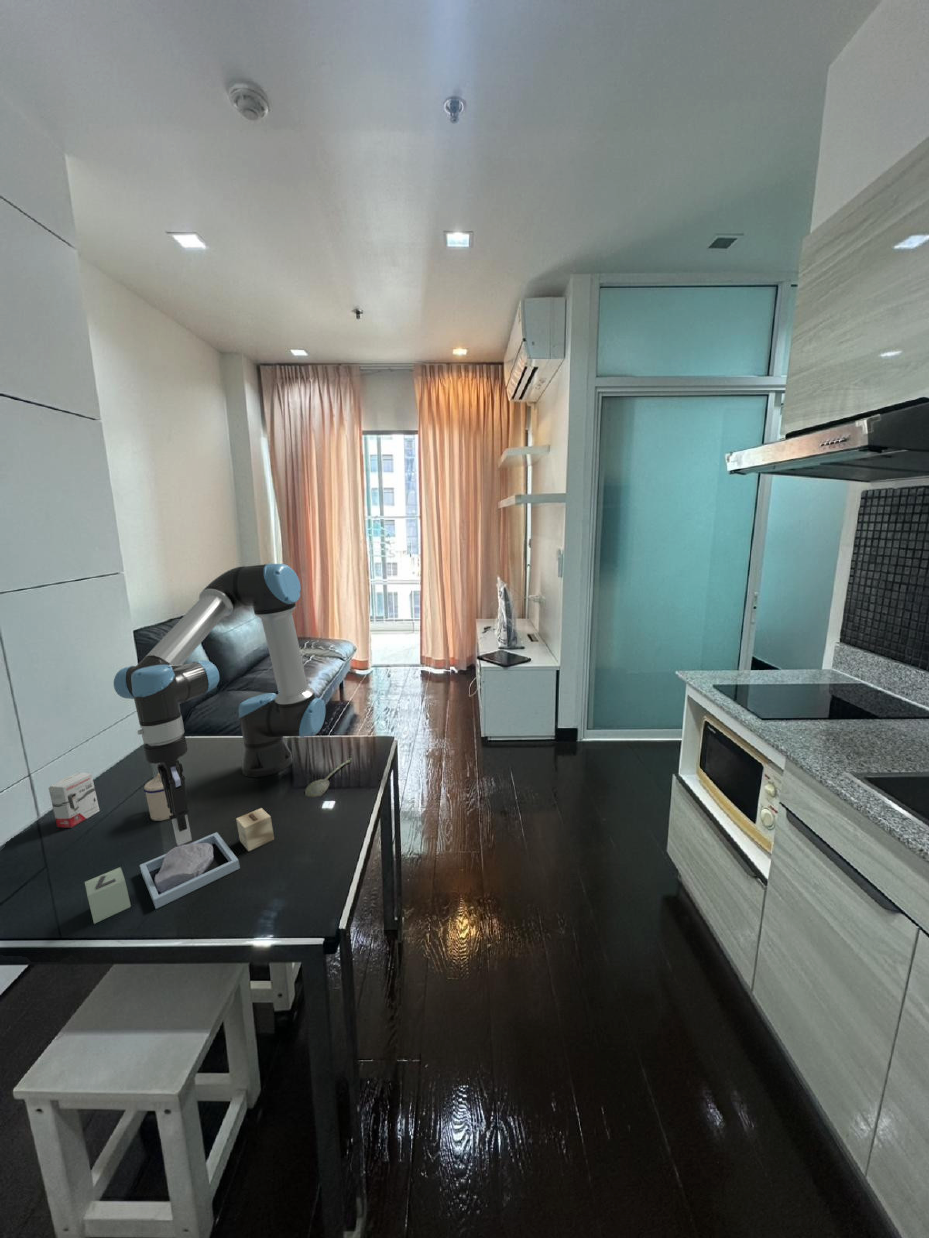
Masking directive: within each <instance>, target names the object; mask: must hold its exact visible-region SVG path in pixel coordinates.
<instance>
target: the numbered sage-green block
mask: <svg viewBox="0 0 929 1238" xmlns="http://www.w3.org/2000/svg"><path fill="white" fill-rule="evenodd" d="M126 883H127V882H126V879H125V876H124V873H123V870H122V868H121V866H120V867H117V868H114V869H112V870H110V871H108V872H106V873H102V874H101V875H98V876H96V877H94V878H91V879H89V880H86V881H84V885H85V890H86V895H87V900H88V904H89V908H90V912H91V916H92V920H93V922H92V923H93V924H94V925H95V924H96V923H99V922H101V921H103V920H105V919H107V918H109V917H112V916H114V915H116V914H119V913H120V912H122V911H125V910H127V909H129V908H130V907H132V906H131V901H130V896H129V892H128V891H129V890H128V887H127V884H126Z"/></svg>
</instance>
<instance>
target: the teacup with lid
mask: <svg viewBox="0 0 929 1238" xmlns="http://www.w3.org/2000/svg"><path fill="white" fill-rule="evenodd" d="M143 791H144V792H145V797H146V800H147V801H146V802H147V806H148V807H147V808H148V810H149V815H150V819H151V820H152V821H159V822H160V821H166V820H168V819H169V816H171V815H173V814H171V813H170V808H168V807H167V805H168V804H167V800H166V796H165V792H164V787H163V784H162V781H161V776H160V774H159V772H158V773H157V774H156V776H155V777H154V778H153V779H150V780H149V781H147V782H146V783H145V785H144V787H143ZM169 820H170V819H169Z"/></svg>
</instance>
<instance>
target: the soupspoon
mask: <svg viewBox="0 0 929 1238" xmlns="http://www.w3.org/2000/svg"><path fill="white" fill-rule="evenodd" d="M352 762H353V759H352V758H350V757H348V758H347V760H345V761H344V762H342V763H341V764H340V765H338V767H336V768H335V769H334V770H332V771H331V772H330V773H329V774H328V775H327V776H326V777H325V778H323V779H322V778H320V779H318V780H317V779H316V780H314V781H313V782H311V783H309V784H308V785H307V787H306V788H305V791H304V794H305V796H306V797H311V798H314V797H321V796H323V795H324V794H325V792H327V790H328V788H329V786H330V780H329V778H330V777H332V776H333V775H334V774H335V773H336V772H337V771H338V770H339V769H340V768H341V767H343V766H345V765H347V764H350V763H352Z"/></svg>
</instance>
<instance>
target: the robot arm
mask: <svg viewBox="0 0 929 1238" xmlns="http://www.w3.org/2000/svg"><path fill="white" fill-rule="evenodd" d="M301 591H302V587H301V582H300V579H299V576H298V575H297V573H296V572H295V570H294V569H293V568H291V567H290V566H289V565H287V564H286V563H285V564H284V563H264V564H256V565H247V566H245V565H244V566H237V567H233V568H231V569H229V570H227V571H224V572H223V573H221V574H220V575H219V576H218V577H216V578H214V580H212V581H211V582H210V583H209V584H208V585H207V586H205V588H203V590H201V592H200V593H199V595H198V596H199V597H198V601H196V602H195V604H194V605H193V606H192V607H191V608H190V609H189V610H188V611H187V612H186V614H184V615H183V616H182V617H181V618H180V620H179V621H178V622H177V623H176V624H175V625H173V627H172V628H171V629H170V630H169V631H168V632H167V633H166V634H165V635H164V636H163V638H161V639H160V641H159V642H158V643H157V644H156V645H155V646H153V648H152V649H151V650H150V651H149V652H148V653H147V654H146V655H145V656H144V657H143V659H142V660H141V661H139V662H138V664H137V665H135V666H134V665H130V666H126V667H123V668H121V669H119V671H118V672H117V673H116V674H115V676H114V677H113V688H114V691H115V692H116V694H117V695H118V696H120V697H121V698H123V699H130V700H134V705H135V709H136V714H137V718H138V723H139V728H140V729H138V730H137V735H139V736H140V735H141V737H142V741H143V744H144V746H143V749H144V755H145V758H146V762H147V763H150V764H153V765H154V764H157V771H158V773H159V774H160V776H161V781H162V784H163V787H164V792H165V796H166V800H167V804H168V805H167V807H168V808H170V813H171V814H173V815H171V816H169V821H171V823H172V827H173V832H174V833H173V834H174V837H175V842H176V843H175V844H176V845H177V847H178V846H181V845H185V844H187V843H189V842H191V841H193V839H192V833H191V829H190V823H189V819H188V818H189V817H188V815H189V806H188V800H187V799H188V798H187V792H186V783H185V782H186V777H185V776H184V775H183V773H184V768H183V765H182V763H180V761H179V758H181V757H183V756H184V755H186V753H188V744H187V738H186V735H184V733H185V729H184V728H185V727H184V722H183V716H182V712H181V706H180V704H183V703H185V702H188V701H190V700H192V699H194V698H197V697H200V696H202V695H206V694H207V693H208V692H210V691H212V690H213V689H215V688H216V687H217V686H218V684H219V682H220V672H219V670H218V668H217V666H216V665H215V664H213V662H212V661H209V660H206V659H202V660H198V661H196V660H195V661H192V662H191V663H187V664H185V662H186V661H187V660H188V658H189V657H190V656H191V655H192V654H193V652H195V650H197V648H198V647H199V645H201V643H202V642H203V641H204V640H205V639H206V637H207V636H208V635H209V634H210V633H211V632H212V631H213V629H214V628H215V627H216V626H217V625H218V623H219V622H221V620H222V619H223V618H225V617H228V616H230V615H231V614H232V613H233V611H235V610H236V609H240V608H242V607H252V609H253V613H254V615H255V617H256V616H257V617H258V618H260V619H261V622H262V626H263V632H264V634H265V640H266V643H267V644H266V645H267V649H268V653H269V657H270V661H271V666H272V670H273V675H274V679H275V683H276V688H277V692H278V694H276V693H274V692H268V693H264V694H263V693H262V694H259V695H255V696H253V697H250V698H248V699H246V700H244V701H242V702H241V703H240V704H239V705H238V718H239V724H240V729H241V736H242V738H243V739H242V740H243V745H244V751H243V755H242V756H243V757H242V761H241V771H242V774H243V775H244V776H246V777H248V778H249V777H250V778H258V777H267V776H270V775H273V774H277V773H280V772H281V771H283V770H285V769H287V768H288V767H289V766H290V765H292V763H293V754H292V752H291V750H290V749H289V746H288V744H287V743H286V741H285V739H284V737H288V738H291V737H292V738H294V737H295V738H297V737H299V738H305V737H313V736H315V735H317V734H318V733H319V732H320V731H321V729H322V727H323V725H324V722H325V717H326V704H325V701H324V700H323V699H322V698H319V697H316V696H315V695H316V694H315V691H314V689H313V688H312V687H310V686H308V683H307V678H306V673H305V668H304V663H303V659H302V655H301V649H300V645H299V644H300V643H299V639H298V635H297V630H296V624H295V621H294V616H293V612H294V610H295V609H296V608H297V604H296V603H297V602H298V601H299V600H300V597H301V593H300V592H301Z"/></svg>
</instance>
